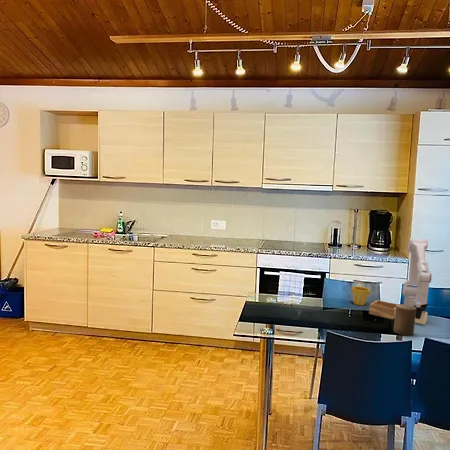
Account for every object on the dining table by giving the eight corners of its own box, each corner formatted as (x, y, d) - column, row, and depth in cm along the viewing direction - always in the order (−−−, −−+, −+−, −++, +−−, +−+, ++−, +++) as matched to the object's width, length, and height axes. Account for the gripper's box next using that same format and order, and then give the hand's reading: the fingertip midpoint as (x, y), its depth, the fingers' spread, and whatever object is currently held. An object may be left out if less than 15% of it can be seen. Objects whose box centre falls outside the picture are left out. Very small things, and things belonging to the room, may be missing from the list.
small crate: (413, 319, 263) (414, 309, 263) (426, 322, 260) (427, 312, 259) (411, 321, 259) (412, 311, 259) (424, 324, 255) (425, 314, 255)
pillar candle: (413, 337, 233) (417, 308, 231) (392, 333, 236) (396, 304, 235) (413, 331, 242) (416, 303, 240) (393, 328, 245) (396, 300, 244)
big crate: (375, 308, 279) (376, 300, 279) (399, 314, 272) (400, 305, 271) (368, 313, 268) (369, 304, 268) (392, 319, 261) (394, 309, 260)
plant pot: (369, 303, 290) (371, 288, 289) (365, 307, 281) (367, 291, 280) (353, 300, 295) (354, 285, 294) (348, 303, 286) (350, 288, 285)
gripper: (417, 289, 266) (414, 312, 267) (411, 294, 254) (408, 318, 255) (430, 292, 262) (427, 315, 263) (425, 296, 250) (422, 321, 251)
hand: (419, 317), depth 259 cm, fingers open, 7 cm apart
